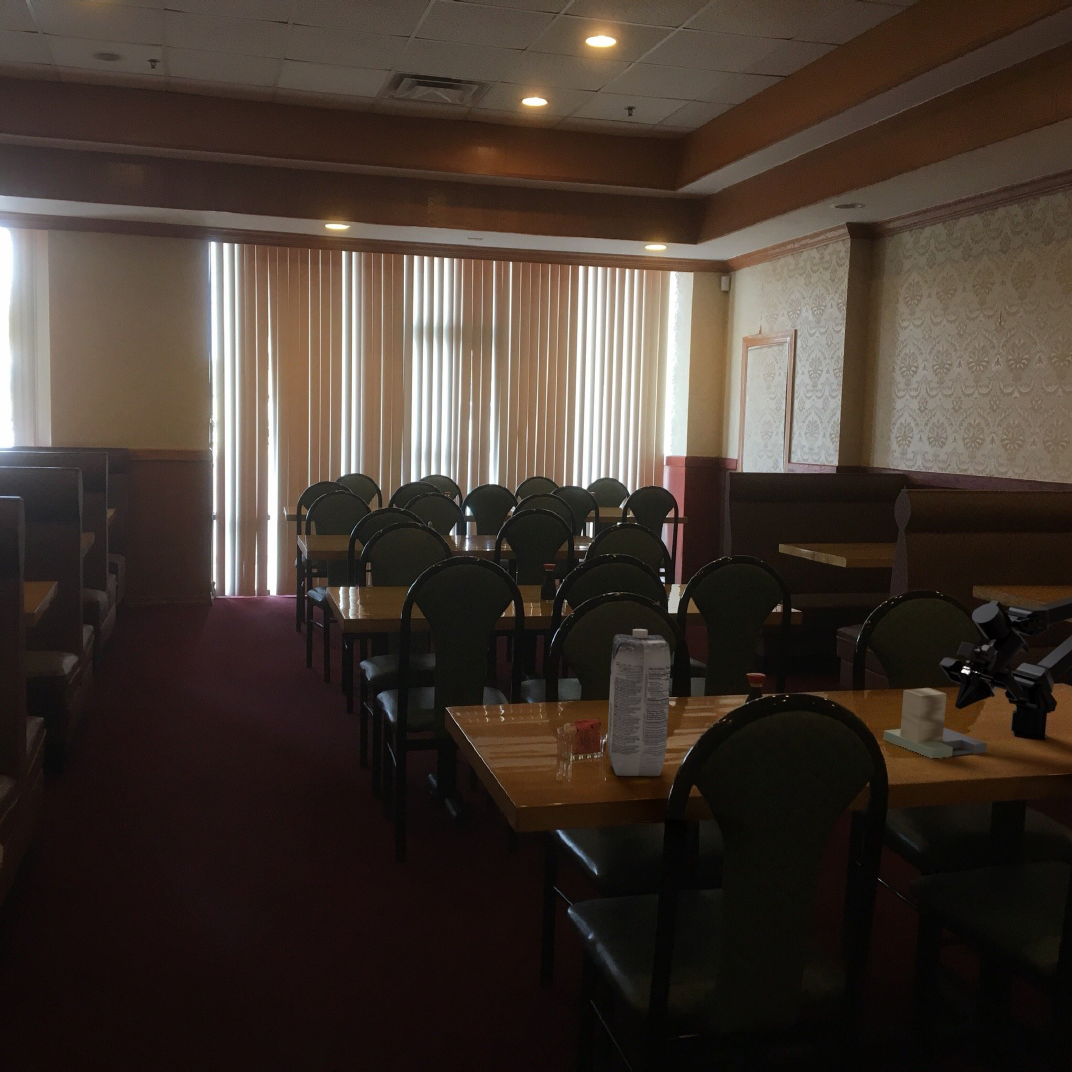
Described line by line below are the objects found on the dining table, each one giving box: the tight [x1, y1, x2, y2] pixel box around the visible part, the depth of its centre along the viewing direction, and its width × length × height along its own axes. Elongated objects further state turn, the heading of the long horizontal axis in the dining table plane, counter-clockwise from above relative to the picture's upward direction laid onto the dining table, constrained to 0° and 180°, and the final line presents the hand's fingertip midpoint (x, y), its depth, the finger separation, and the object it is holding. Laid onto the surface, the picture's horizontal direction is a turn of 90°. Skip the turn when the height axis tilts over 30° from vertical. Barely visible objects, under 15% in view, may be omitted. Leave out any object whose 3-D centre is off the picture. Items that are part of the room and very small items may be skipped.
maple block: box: [900, 687, 947, 743], centre depth 229 cm, size 7×5×10 cm
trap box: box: [882, 727, 988, 759], centre depth 231 cm, size 15×14×2 cm
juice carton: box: [607, 628, 672, 777], centre depth 206 cm, size 9×10×27 cm
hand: (957, 707), depth 233 cm, fingers closed
